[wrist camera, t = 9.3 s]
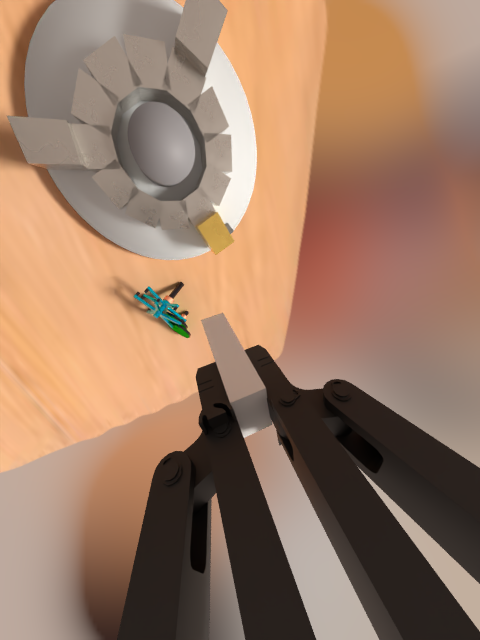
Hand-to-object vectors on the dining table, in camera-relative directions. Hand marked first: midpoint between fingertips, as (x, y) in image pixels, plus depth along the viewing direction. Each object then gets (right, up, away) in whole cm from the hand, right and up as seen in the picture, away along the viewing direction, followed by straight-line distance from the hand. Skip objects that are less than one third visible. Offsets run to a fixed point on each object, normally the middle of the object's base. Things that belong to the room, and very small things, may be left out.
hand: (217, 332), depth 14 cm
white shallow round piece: (-8, +21, +11) cm, 25 cm away
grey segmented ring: (-7, +19, +11) cm, 23 cm away
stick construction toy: (-10, +4, +21) cm, 23 cm away
